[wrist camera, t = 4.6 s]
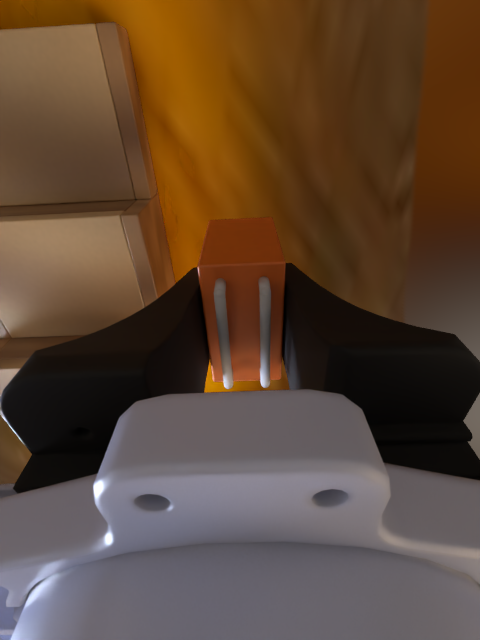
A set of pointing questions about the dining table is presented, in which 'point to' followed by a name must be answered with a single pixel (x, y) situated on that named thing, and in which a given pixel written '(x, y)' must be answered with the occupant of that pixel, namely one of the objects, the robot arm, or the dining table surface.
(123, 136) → the step shelf
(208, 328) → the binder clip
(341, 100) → the dining table surface
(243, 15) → the dining table surface
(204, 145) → the dining table surface
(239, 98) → the dining table surface
